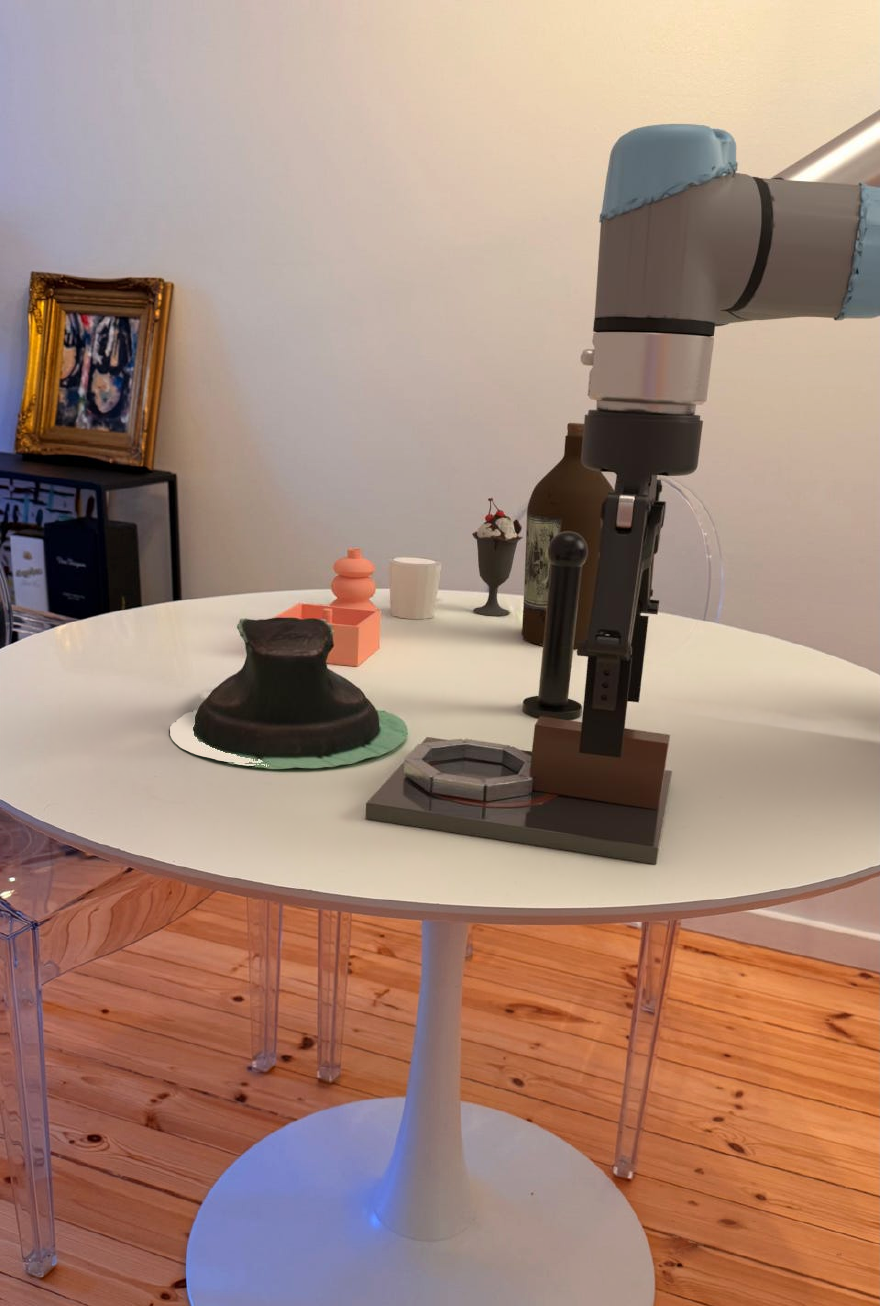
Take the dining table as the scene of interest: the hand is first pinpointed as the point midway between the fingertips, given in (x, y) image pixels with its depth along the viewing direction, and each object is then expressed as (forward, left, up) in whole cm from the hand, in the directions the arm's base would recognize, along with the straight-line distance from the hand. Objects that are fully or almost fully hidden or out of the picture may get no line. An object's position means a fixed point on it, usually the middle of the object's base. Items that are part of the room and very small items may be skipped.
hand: (611, 724), depth 77 cm
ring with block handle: (+5, 0, -5) cm, 7 cm away
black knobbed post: (+7, -24, -7) cm, 26 cm away
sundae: (+22, -67, -7) cm, 71 cm away
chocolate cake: (+27, -8, -7) cm, 29 cm away
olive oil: (+11, -55, -7) cm, 56 cm away
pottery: (+34, -40, -7) cm, 53 cm away
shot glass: (+31, -60, -7) cm, 68 cm away
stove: (+5, 0, -7) cm, 9 cm away
